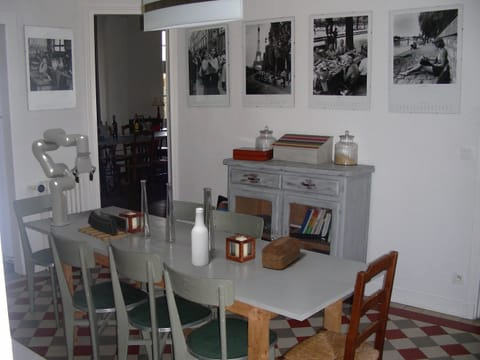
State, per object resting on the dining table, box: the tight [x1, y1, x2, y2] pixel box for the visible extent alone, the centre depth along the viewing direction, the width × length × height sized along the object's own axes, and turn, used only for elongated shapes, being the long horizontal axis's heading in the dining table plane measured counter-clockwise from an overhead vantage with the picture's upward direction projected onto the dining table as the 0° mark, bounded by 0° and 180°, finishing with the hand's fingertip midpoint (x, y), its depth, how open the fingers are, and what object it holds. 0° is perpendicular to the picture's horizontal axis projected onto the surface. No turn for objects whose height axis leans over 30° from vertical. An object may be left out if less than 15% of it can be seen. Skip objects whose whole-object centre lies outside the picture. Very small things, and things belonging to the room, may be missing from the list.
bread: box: [261, 235, 302, 270], centre depth 290 cm, size 14×28×12 cm, turn 151°
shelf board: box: [76, 225, 131, 242], centre depth 346 cm, size 34×18×2 cm, turn 45°
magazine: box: [87, 210, 118, 234], centre depth 343 cm, size 17×3×30 cm
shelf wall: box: [99, 210, 128, 233], centre depth 350 cm, size 30×1×9 cm, turn 45°
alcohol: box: [190, 207, 210, 267], centre depth 286 cm, size 9×9×30 cm
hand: (84, 181), depth 345 cm, fingers open, 9 cm apart
